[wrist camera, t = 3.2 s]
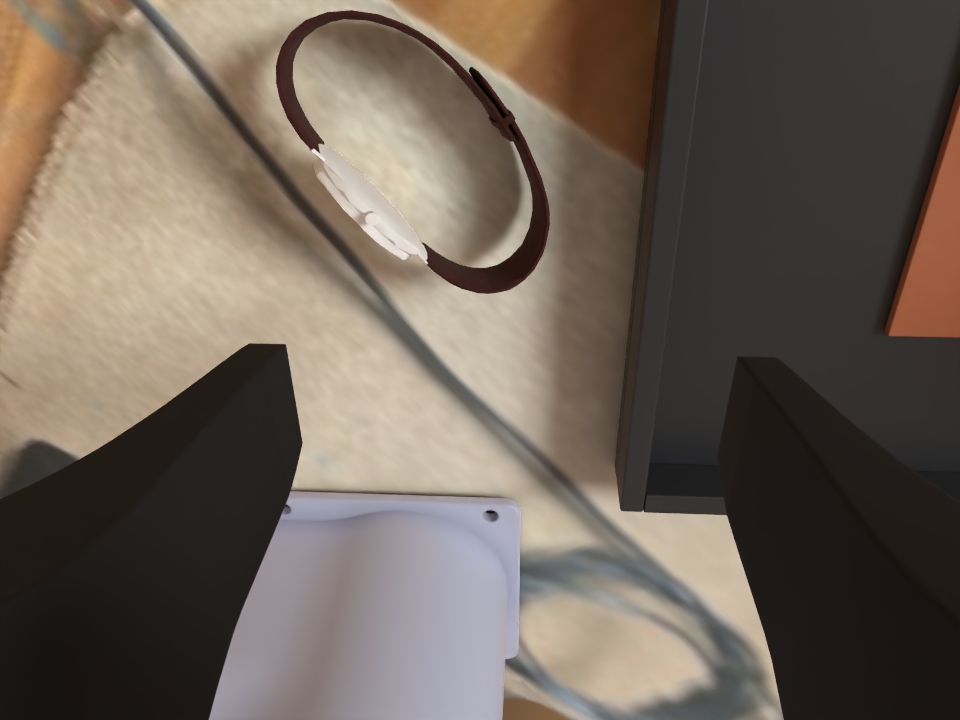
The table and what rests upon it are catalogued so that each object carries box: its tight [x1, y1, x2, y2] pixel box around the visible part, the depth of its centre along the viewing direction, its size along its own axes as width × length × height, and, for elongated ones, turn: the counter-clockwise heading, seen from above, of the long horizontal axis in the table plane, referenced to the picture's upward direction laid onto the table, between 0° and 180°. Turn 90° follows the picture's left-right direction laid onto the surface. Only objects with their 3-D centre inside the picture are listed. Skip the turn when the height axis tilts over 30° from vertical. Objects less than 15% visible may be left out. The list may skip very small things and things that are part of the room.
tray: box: [615, 0, 960, 515], centre depth 20 cm, size 15×16×2 cm
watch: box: [276, 10, 550, 294], centre depth 19 cm, size 8×5×4 cm, turn 42°
